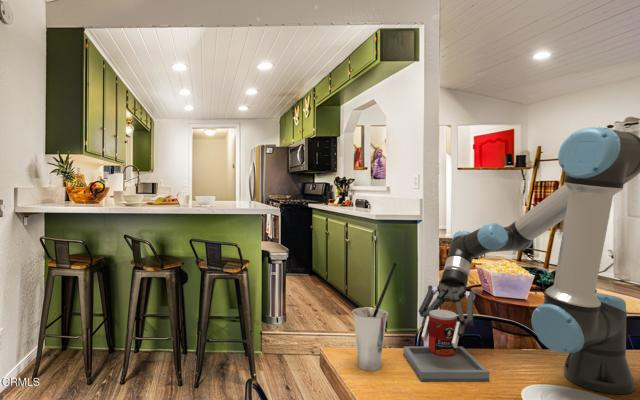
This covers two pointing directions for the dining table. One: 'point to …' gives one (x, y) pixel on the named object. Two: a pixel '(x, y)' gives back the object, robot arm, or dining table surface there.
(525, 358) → the dining table surface
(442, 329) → the canned food
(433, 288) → the robot arm
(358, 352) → the glass
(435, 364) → the tray
